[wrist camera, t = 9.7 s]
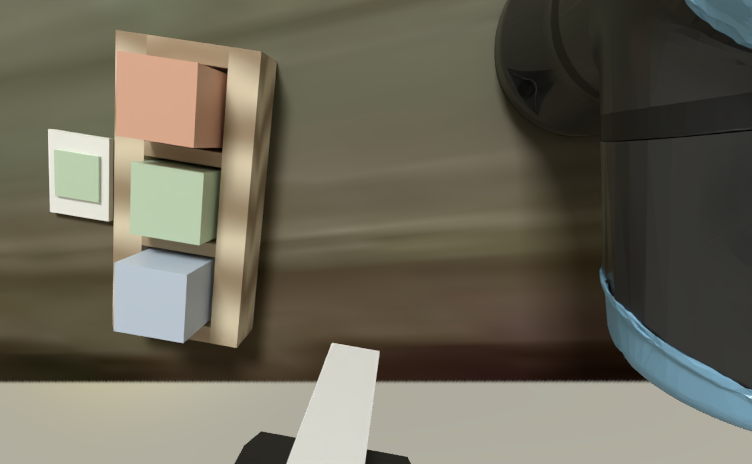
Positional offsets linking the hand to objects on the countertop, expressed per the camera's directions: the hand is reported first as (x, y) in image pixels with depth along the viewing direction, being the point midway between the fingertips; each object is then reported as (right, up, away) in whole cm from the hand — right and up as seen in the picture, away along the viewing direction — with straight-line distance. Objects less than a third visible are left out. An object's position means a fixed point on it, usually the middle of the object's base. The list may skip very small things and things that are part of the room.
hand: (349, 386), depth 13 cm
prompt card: (-28, +10, +27) cm, 40 cm away
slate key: (-17, 0, +25) cm, 31 cm away
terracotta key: (-15, +16, +22) cm, 31 cm away
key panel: (-16, +8, +26) cm, 32 cm away
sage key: (-16, +8, +25) cm, 31 cm away
